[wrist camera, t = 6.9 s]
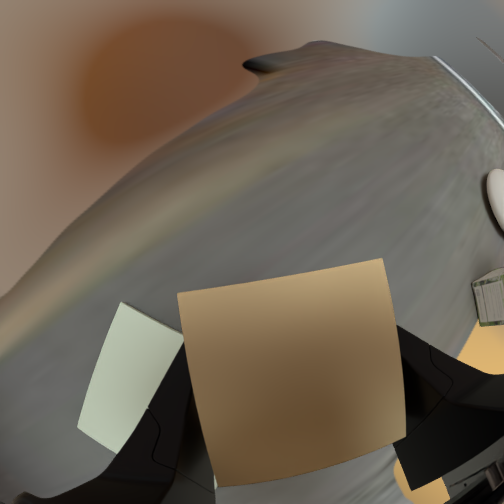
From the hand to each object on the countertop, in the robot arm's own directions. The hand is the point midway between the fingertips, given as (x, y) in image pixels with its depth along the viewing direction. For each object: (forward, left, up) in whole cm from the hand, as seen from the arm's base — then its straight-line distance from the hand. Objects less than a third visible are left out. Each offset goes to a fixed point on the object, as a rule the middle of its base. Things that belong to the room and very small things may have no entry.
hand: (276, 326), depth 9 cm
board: (+4, +10, -13) cm, 17 cm away
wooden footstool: (-1, +1, -7) cm, 7 cm away
